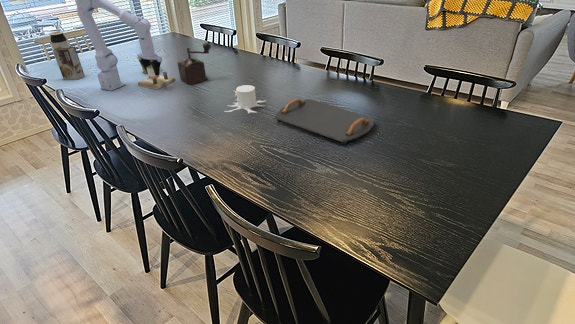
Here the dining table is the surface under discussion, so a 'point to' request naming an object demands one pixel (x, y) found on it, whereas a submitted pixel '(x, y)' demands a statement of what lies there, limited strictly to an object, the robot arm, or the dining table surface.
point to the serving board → (325, 119)
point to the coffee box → (68, 62)
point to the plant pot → (142, 65)
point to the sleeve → (151, 73)
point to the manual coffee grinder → (193, 68)
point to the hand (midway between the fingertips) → (153, 74)
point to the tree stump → (245, 98)
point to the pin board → (159, 83)
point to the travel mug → (58, 39)
